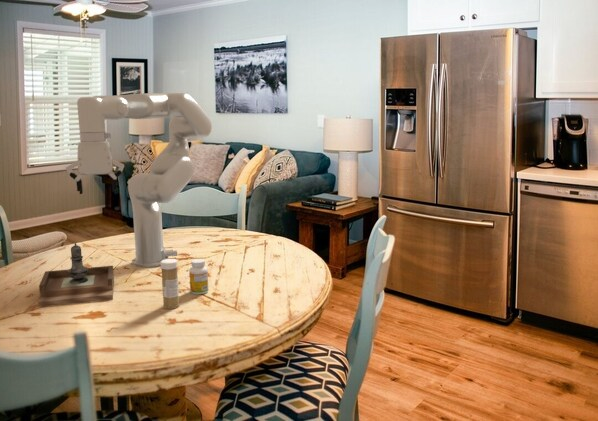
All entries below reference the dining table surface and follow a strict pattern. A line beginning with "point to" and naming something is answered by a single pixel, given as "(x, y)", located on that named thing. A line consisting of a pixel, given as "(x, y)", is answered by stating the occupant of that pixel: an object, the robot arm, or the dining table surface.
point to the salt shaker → (77, 266)
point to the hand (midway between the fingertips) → (97, 192)
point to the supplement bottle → (198, 277)
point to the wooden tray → (76, 287)
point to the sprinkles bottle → (170, 283)
